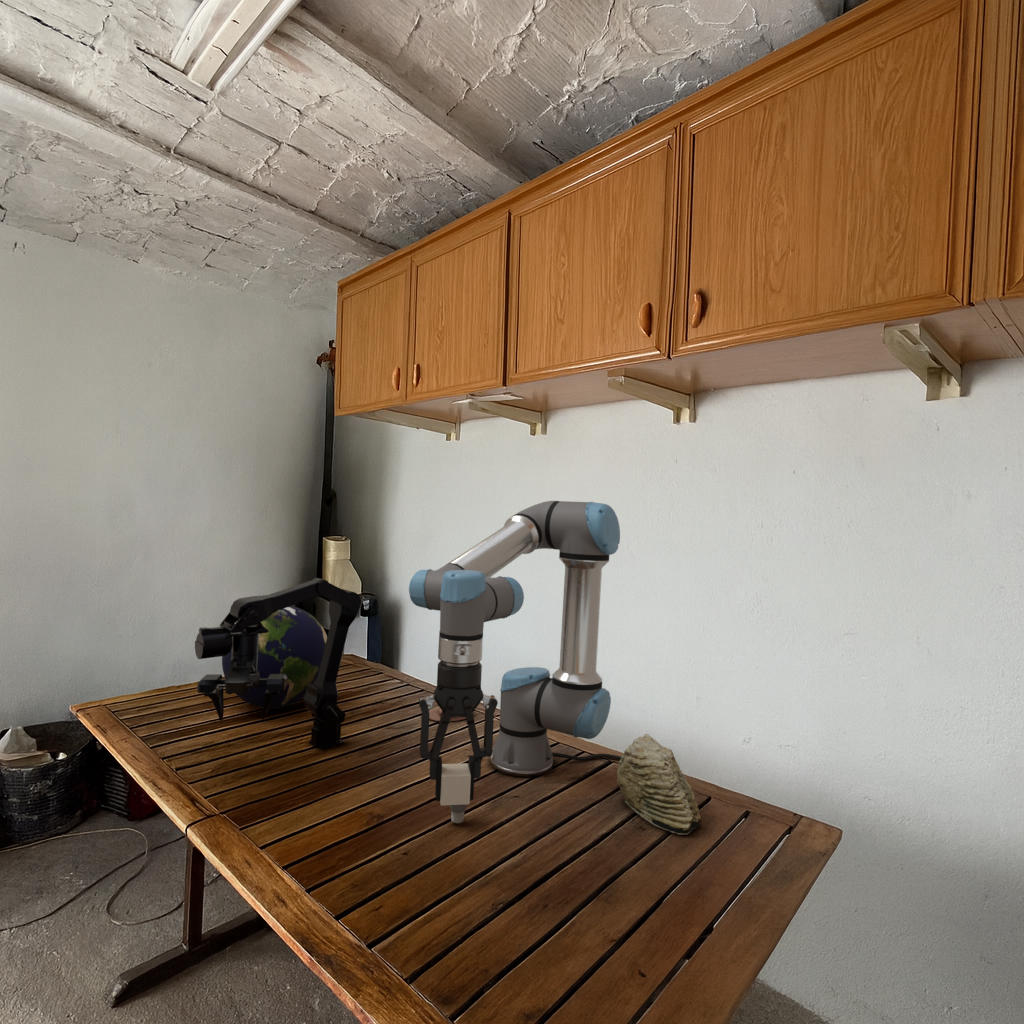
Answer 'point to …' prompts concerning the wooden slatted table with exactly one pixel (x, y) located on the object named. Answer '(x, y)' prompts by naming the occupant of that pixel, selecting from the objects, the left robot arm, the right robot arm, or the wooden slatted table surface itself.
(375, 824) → the wooden slatted table surface
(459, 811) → the light bulb
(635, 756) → the fossil
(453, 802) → the block
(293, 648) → the globe
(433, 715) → the anatomical model
